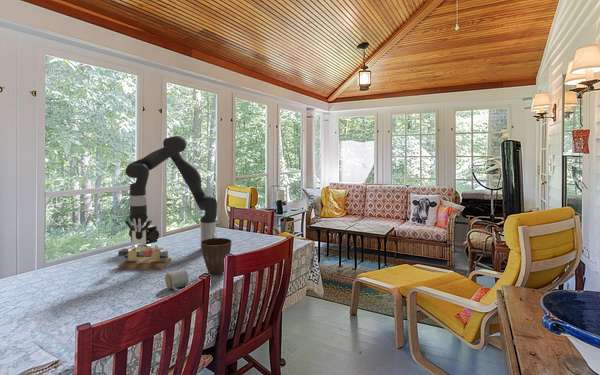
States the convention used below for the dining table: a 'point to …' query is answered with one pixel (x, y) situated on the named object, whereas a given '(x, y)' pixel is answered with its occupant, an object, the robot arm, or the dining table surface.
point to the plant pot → (215, 254)
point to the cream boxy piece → (145, 237)
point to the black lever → (126, 250)
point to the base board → (144, 264)
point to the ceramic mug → (176, 279)
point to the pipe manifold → (138, 253)
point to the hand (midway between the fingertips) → (139, 239)
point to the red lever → (150, 251)
